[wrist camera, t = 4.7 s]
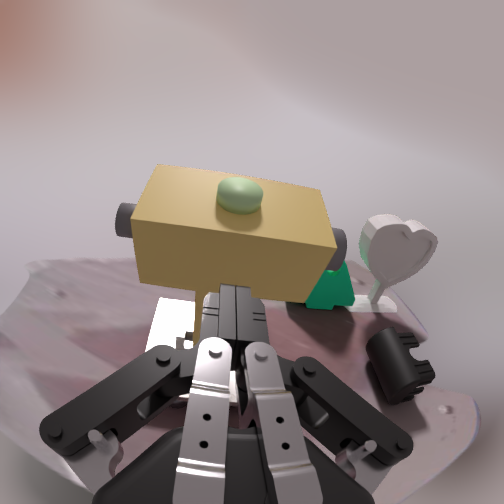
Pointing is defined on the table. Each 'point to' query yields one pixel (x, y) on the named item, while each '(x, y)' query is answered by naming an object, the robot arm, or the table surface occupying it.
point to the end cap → (398, 365)
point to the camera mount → (332, 290)
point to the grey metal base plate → (179, 336)
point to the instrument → (230, 235)
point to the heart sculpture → (391, 257)
